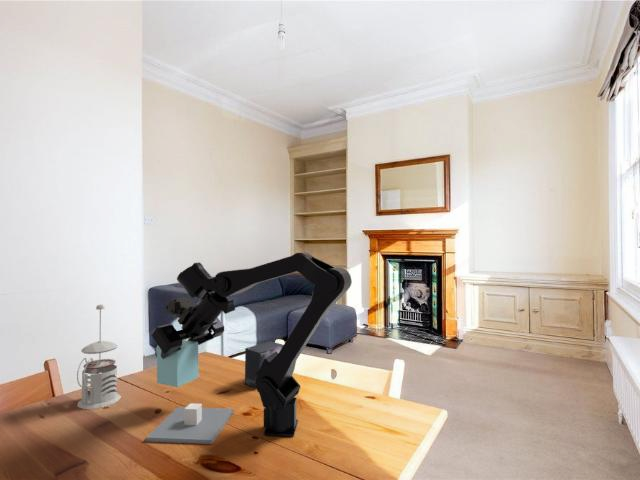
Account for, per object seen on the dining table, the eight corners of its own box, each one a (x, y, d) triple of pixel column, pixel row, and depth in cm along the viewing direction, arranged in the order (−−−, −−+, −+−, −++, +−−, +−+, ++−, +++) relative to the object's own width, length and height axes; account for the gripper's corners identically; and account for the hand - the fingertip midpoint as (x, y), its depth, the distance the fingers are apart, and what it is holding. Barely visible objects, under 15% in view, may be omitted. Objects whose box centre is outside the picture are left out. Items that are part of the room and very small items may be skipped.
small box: (259, 389, 101) (259, 352, 101) (243, 384, 105) (243, 348, 105) (285, 378, 109) (285, 343, 109) (269, 374, 113) (269, 340, 113)
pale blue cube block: (198, 377, 91) (198, 341, 92) (177, 387, 85) (176, 348, 85) (178, 374, 94) (178, 339, 94) (157, 383, 88) (156, 346, 88)
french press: (129, 393, 98) (129, 301, 99) (98, 413, 87) (99, 309, 87) (95, 392, 99) (96, 301, 100) (61, 411, 88) (62, 308, 88)
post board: (233, 412, 87) (233, 394, 87) (211, 444, 73) (212, 422, 73) (177, 410, 88) (177, 392, 88) (145, 441, 74) (145, 420, 74)
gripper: (215, 283, 97) (185, 321, 101) (156, 291, 80) (124, 337, 85) (239, 314, 93) (207, 352, 98) (183, 329, 77) (147, 375, 81)
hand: (173, 353), depth 90 cm, fingers closed on pale blue cube block, 7 cm apart
